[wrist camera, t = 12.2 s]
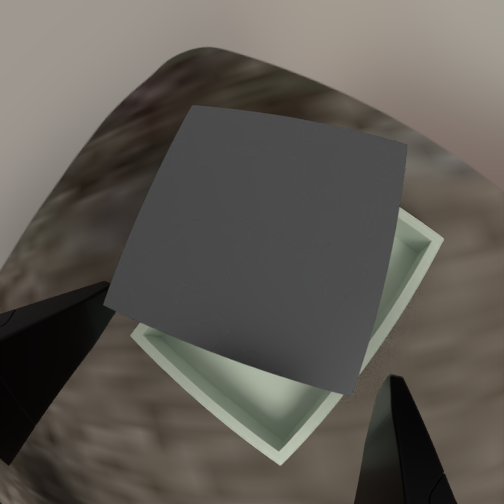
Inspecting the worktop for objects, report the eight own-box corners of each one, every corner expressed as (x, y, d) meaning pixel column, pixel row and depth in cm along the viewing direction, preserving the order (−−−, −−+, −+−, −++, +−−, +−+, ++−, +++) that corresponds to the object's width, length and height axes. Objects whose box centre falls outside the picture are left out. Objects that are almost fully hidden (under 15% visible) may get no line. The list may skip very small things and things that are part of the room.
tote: (285, 449, 17) (280, 465, 14) (153, 338, 20) (130, 335, 17) (427, 253, 18) (444, 238, 16) (291, 165, 22) (288, 140, 19)
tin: (324, 364, 17) (351, 396, 6) (223, 332, 19) (103, 305, 7) (354, 263, 19) (407, 144, 7) (257, 236, 20) (192, 105, 9)
